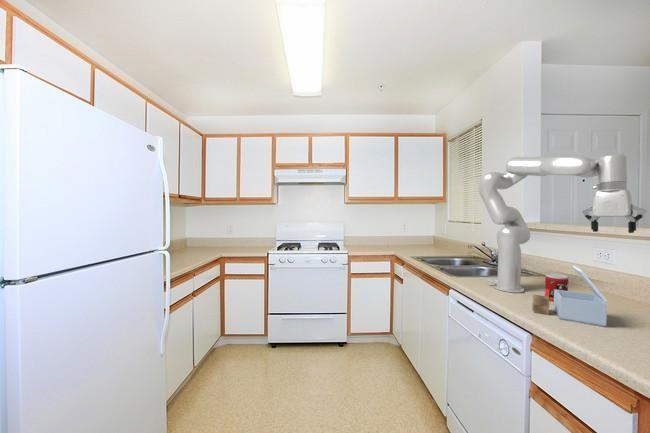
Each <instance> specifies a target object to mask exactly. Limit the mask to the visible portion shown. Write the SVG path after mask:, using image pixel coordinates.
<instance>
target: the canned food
mask: <svg viewBox="0 0 650 433" xmlns="http://www.w3.org/2000/svg"><path fill="white" fill-rule="evenodd" d="M544 278H545V281H544V283H545V284H544V285H545V287H544V296H547V297H548V298H549V302H553V303H554V289H556V290H563V291H569V276H567V275H565V274H560V273H552V272H551V273H546V274H545V277H544Z"/></svg>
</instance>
